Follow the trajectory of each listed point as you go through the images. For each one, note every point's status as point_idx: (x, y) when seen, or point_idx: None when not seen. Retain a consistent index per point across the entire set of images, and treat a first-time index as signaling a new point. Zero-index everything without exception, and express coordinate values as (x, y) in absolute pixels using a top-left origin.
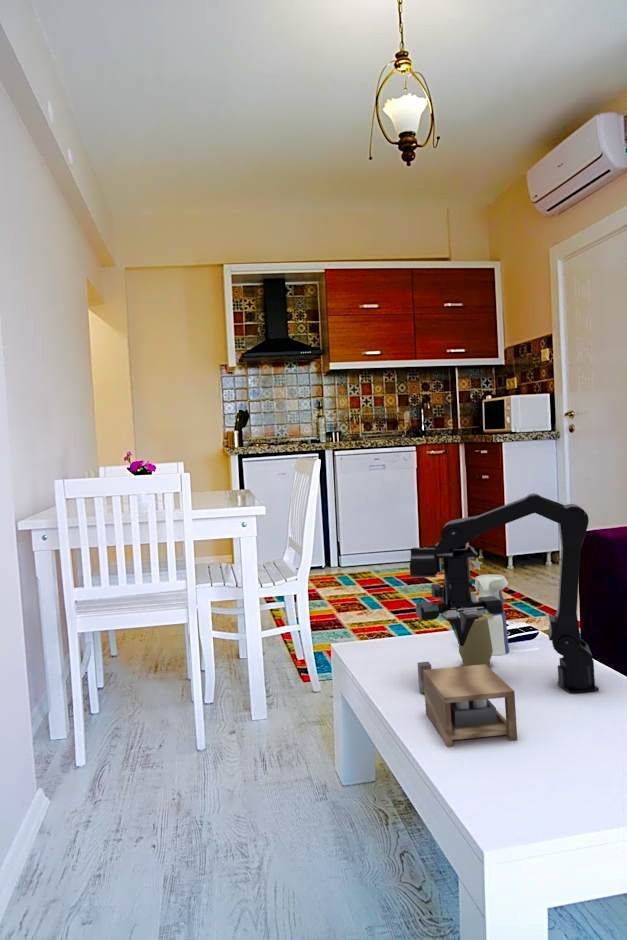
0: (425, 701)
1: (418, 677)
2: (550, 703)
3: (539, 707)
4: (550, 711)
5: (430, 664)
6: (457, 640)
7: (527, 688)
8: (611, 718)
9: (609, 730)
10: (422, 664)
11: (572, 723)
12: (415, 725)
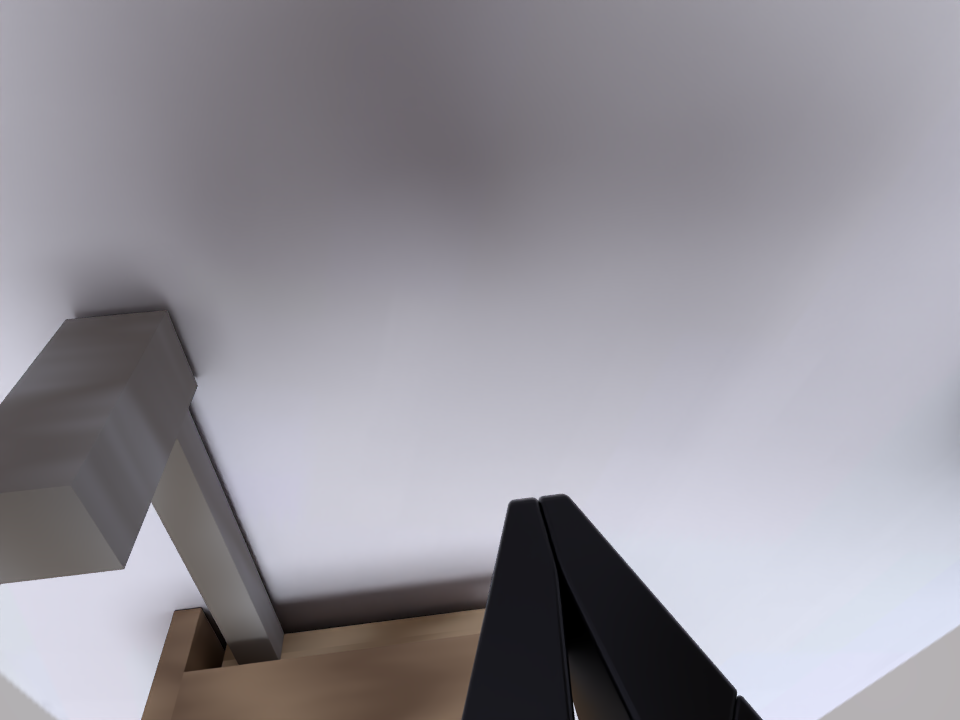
0: (156, 681)
1: (16, 385)
2: (814, 544)
3: (739, 573)
4: (754, 603)
5: (112, 554)
6: (498, 563)
7: (860, 369)
8: (904, 646)
9: (821, 700)
10: (12, 552)
11: (754, 671)
12: (134, 687)
